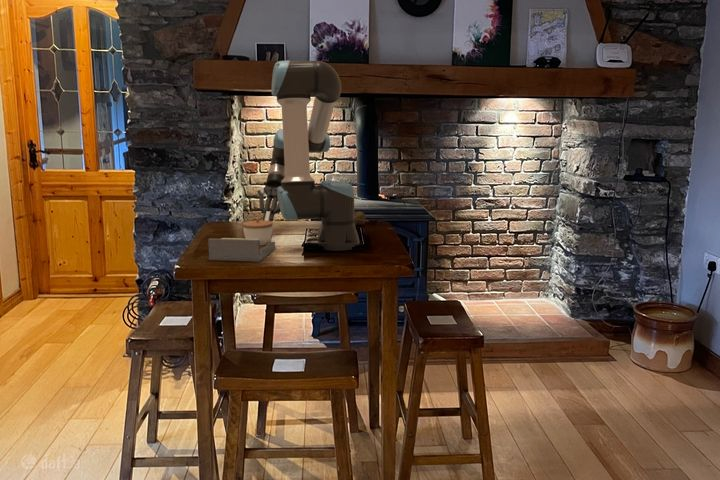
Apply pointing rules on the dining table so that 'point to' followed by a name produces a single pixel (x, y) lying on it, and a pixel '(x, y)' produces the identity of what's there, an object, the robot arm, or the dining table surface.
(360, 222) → the kendama
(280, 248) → the dining table surface
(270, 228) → the lidded jar
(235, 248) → the grey u-shaped frame
